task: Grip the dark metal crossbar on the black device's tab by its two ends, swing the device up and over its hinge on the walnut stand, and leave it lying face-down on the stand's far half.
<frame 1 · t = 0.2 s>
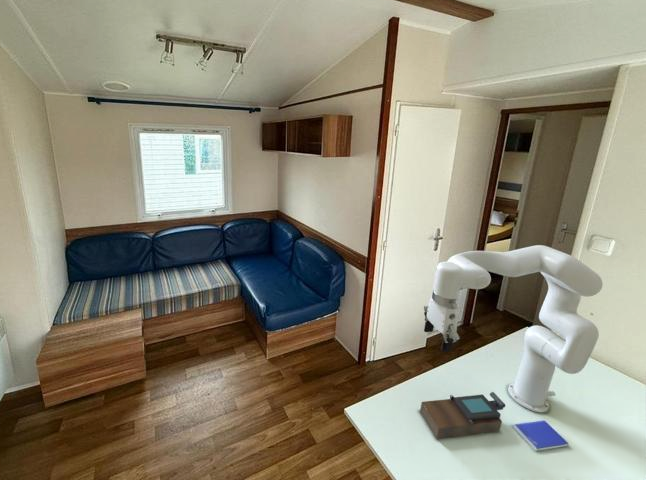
hand: (436, 340, 102), 31 cm above the table, tool pointing down, fingers open, 9 cm apart
hard drive: (539, 437, 100), on the table
device: (481, 404, 104), point 7 cm above the table, hinge at 0.0°
stand: (458, 421, 105), on the table
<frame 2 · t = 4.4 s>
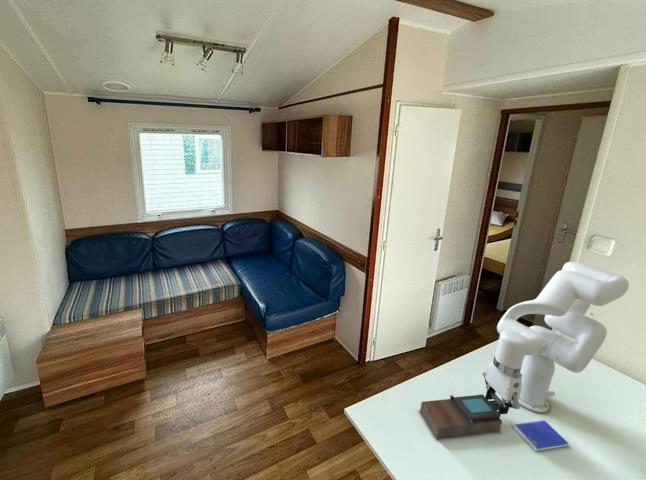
hand: (495, 405, 105), 6 cm above the table, tool pointing down, fingers closed on device, 5 cm apart
device: (481, 404, 104), point 7 cm above the table, hinge at 0.0°, touching gripper
everything else where it was.
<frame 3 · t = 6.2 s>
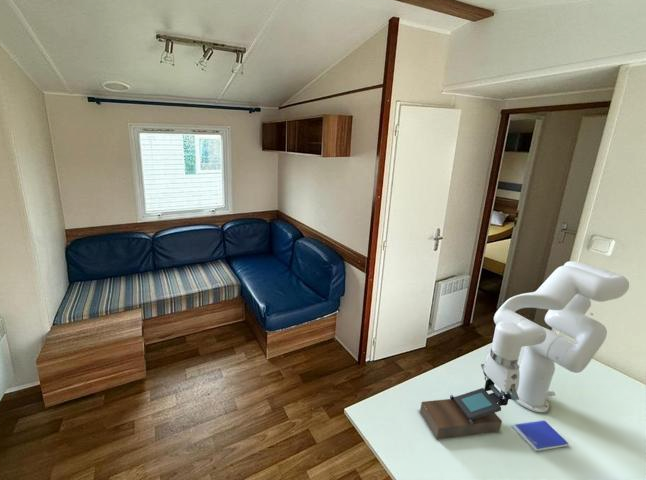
hand: (495, 396, 104), 10 cm above the table, tool pointing down, fingers closed on device, 5 cm apart
device: (480, 399, 103), point 9 cm above the table, hinge at 15.8°, touching gripper
everything else where it was.
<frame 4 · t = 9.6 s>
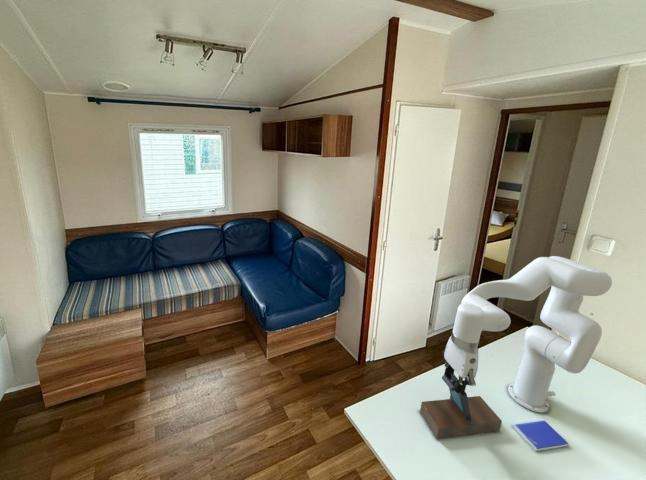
hand: (453, 384, 100), 18 cm above the table, tool pointing down, fingers closed on device, 5 cm apart
device: (454, 394, 101), point 13 cm above the table, hinge at 109.7°, touching gripper
everything else where it was.
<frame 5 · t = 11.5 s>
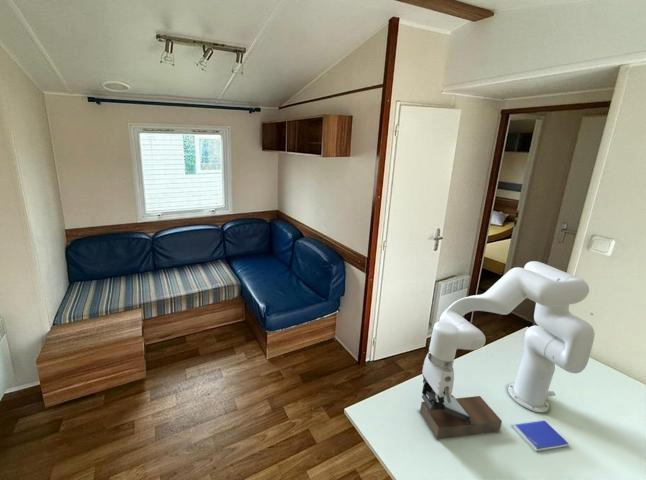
hand: (431, 400, 101), 11 cm above the table, tool pointing down, fingers closed on device, 5 cm apart
device: (443, 405, 102), point 9 cm above the table, hinge at 151.3°, touching gripper
everything else where it was.
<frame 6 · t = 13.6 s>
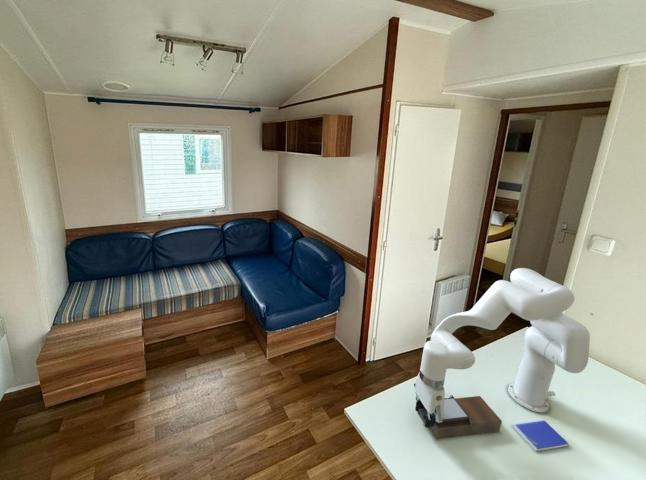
hand: (424, 417, 102), 4 cm above the table, tool pointing down, fingers closed on device, 5 cm apart
device: (440, 413, 103), point 5 cm above the table, hinge at 180.6°, touching gripper, stand
everything else where it was.
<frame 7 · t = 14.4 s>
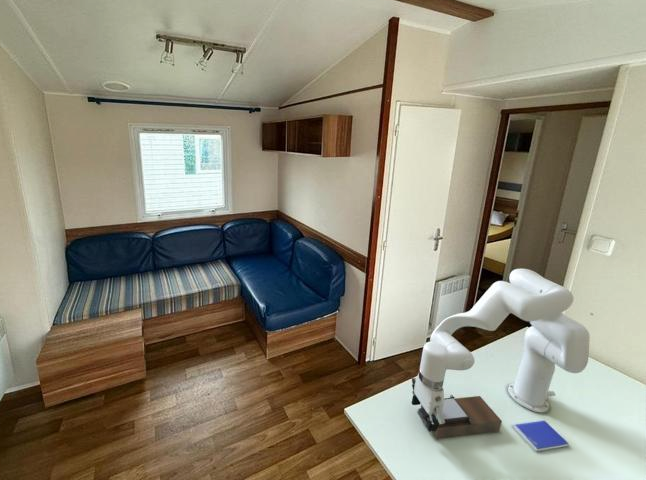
hand: (423, 416, 102), 4 cm above the table, tool pointing down, fingers open, 9 cm apart
device: (440, 413, 103), point 5 cm above the table, hinge at 180.6°
everything else where it was.
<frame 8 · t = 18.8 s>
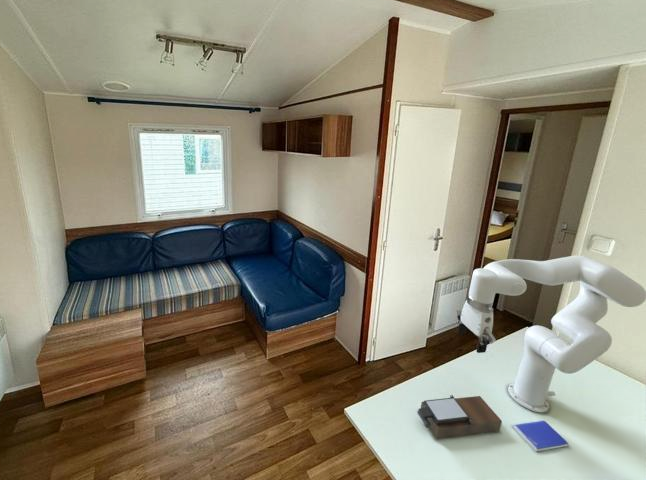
hand: (470, 342, 108), 26 cm above the table, tool pointing down, fingers open, 9 cm apart
nothing on the table moved.
at the end: device at +181° (first picture: +0°); the gripper is holding nothing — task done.
